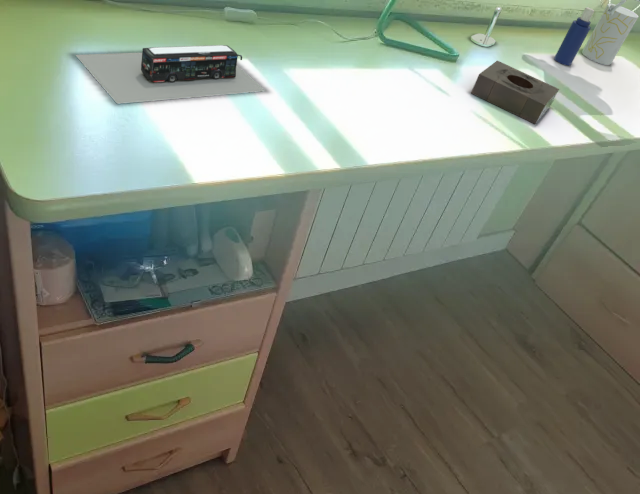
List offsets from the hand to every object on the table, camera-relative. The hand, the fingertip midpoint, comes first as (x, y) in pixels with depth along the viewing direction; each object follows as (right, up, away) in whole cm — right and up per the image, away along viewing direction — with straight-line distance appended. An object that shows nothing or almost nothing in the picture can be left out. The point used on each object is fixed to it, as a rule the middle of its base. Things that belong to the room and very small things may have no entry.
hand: (590, 5), depth 141 cm
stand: (-24, -6, +4) cm, 25 cm away
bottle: (-3, -9, +9) cm, 13 cm away
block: (-24, -29, -19) cm, 42 cm away
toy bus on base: (-86, -35, -47) cm, 104 cm away
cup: (+10, -4, +19) cm, 22 cm away
